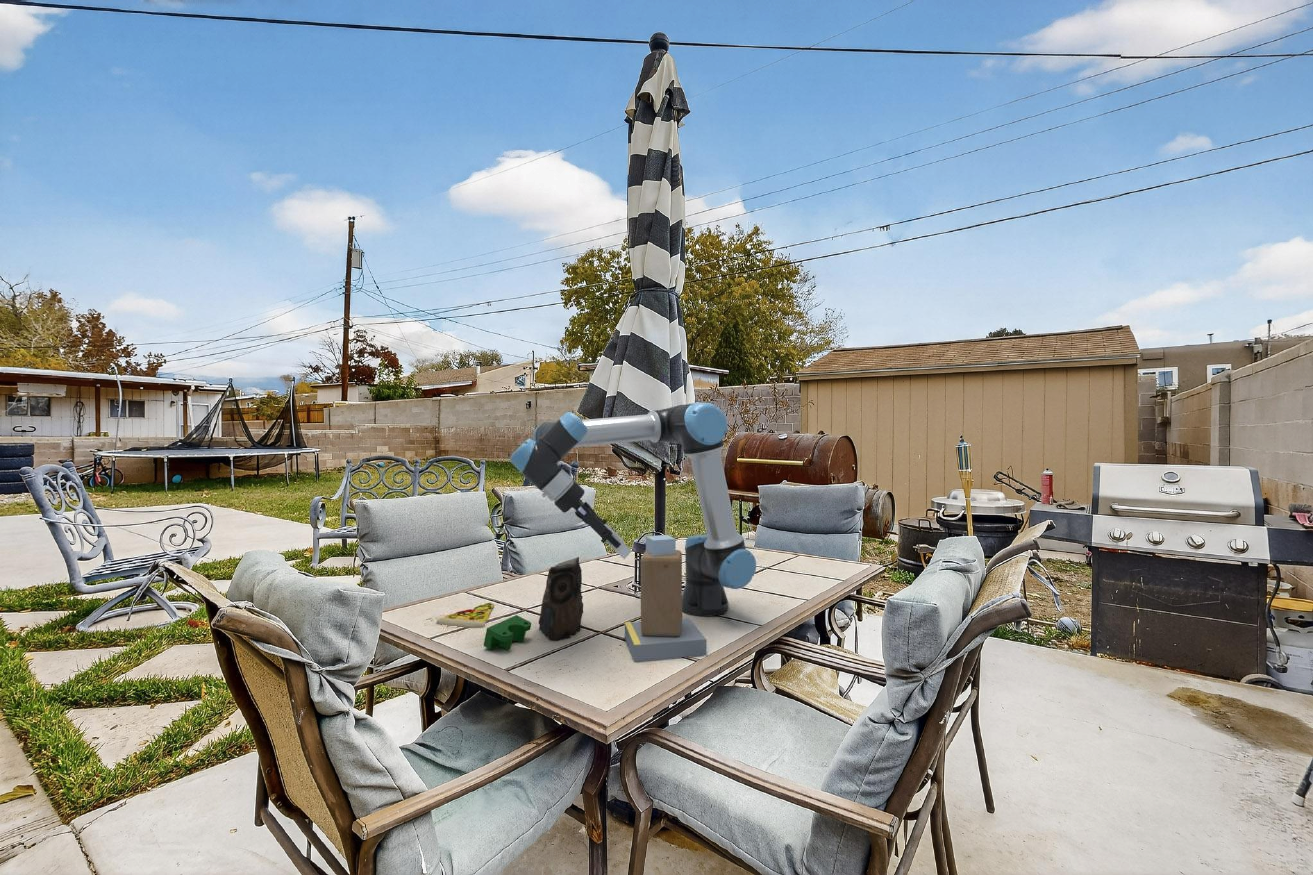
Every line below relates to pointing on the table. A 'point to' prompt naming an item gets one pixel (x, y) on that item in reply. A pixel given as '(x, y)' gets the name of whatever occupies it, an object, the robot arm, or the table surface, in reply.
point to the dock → (664, 643)
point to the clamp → (506, 632)
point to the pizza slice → (469, 617)
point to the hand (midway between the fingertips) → (624, 549)
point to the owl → (562, 601)
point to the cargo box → (660, 545)
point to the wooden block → (661, 594)
